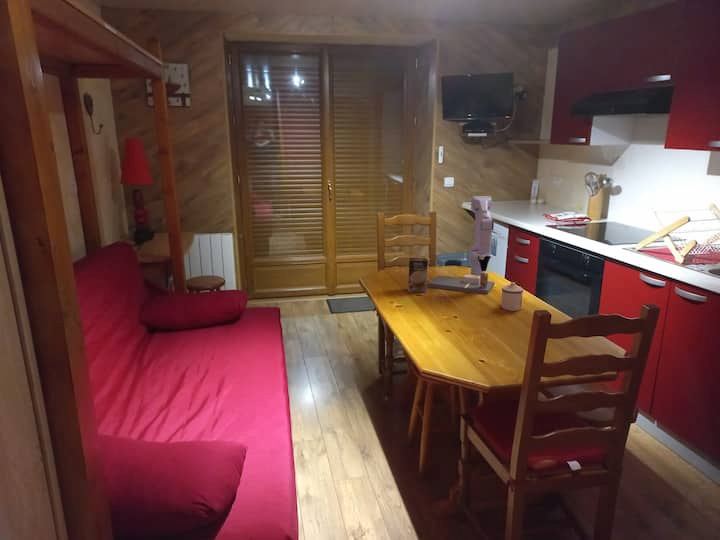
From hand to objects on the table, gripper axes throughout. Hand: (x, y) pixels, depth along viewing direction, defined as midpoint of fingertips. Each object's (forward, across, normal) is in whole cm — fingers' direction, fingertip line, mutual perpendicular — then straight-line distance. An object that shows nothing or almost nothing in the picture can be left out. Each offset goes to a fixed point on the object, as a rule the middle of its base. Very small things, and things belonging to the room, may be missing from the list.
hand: (483, 270), depth 240 cm
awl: (+8, 0, 0) cm, 8 cm away
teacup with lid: (+11, +18, +16) cm, 27 cm away
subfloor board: (+10, -4, -12) cm, 16 cm away
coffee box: (+11, +12, -30) cm, 34 cm away
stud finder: (+8, -7, -7) cm, 13 cm away
